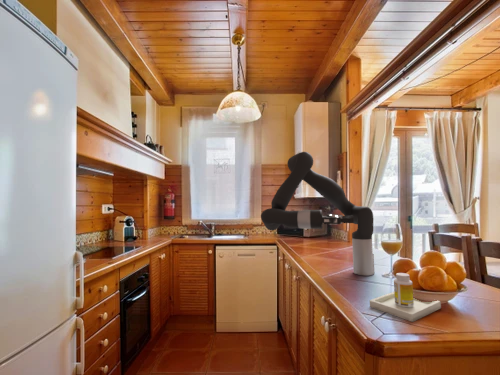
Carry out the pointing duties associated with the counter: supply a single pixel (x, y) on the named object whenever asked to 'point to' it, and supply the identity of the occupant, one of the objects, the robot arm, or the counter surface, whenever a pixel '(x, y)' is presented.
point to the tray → (410, 314)
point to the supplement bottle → (403, 290)
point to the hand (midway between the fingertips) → (353, 219)
